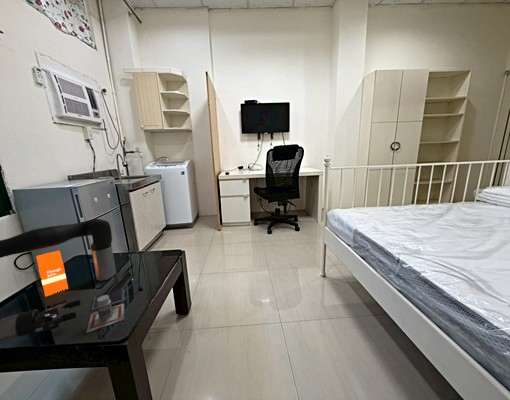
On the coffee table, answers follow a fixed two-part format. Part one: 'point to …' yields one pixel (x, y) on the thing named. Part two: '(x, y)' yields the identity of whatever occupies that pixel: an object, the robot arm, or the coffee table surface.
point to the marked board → (97, 323)
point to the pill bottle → (104, 307)
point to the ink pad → (111, 297)
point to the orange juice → (52, 272)
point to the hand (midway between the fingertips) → (78, 308)
